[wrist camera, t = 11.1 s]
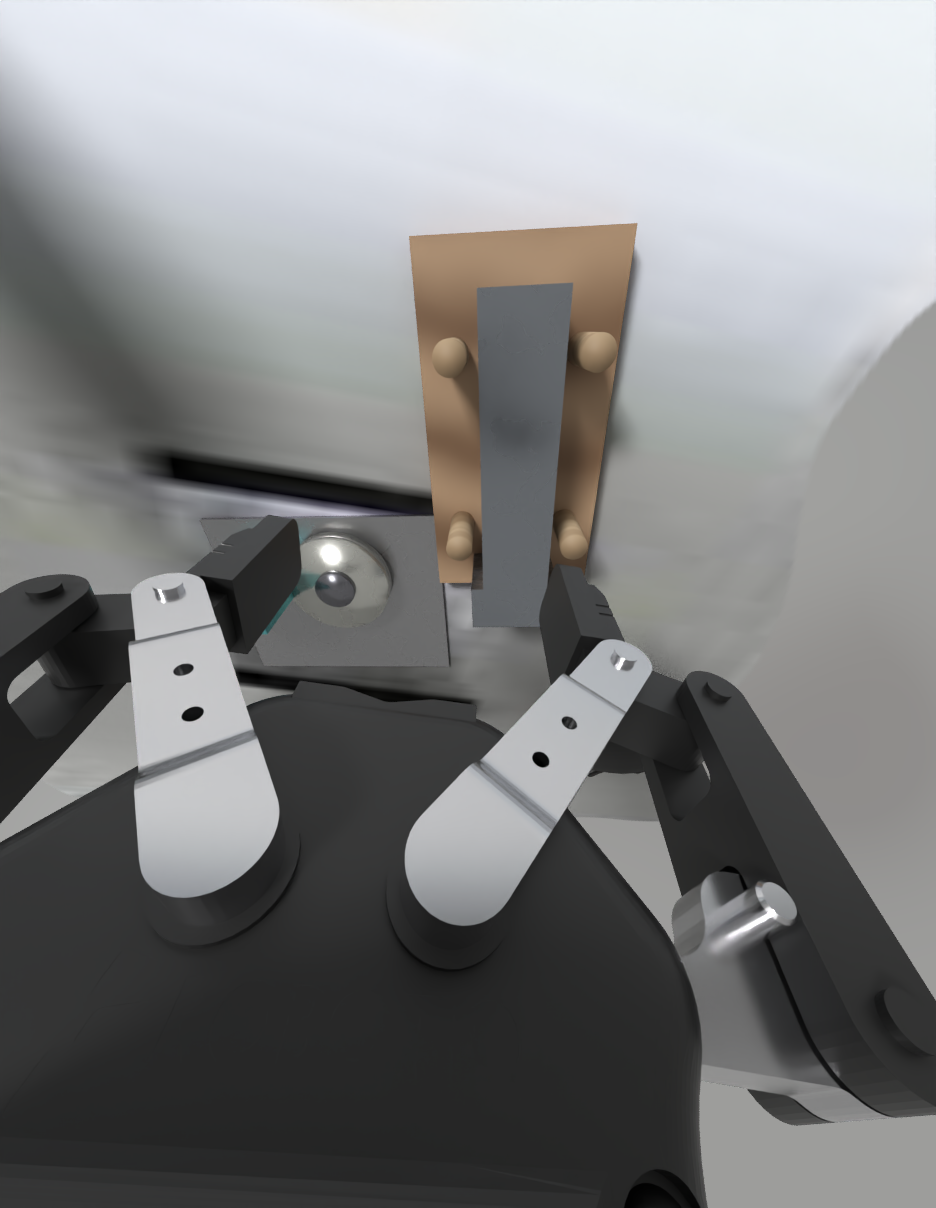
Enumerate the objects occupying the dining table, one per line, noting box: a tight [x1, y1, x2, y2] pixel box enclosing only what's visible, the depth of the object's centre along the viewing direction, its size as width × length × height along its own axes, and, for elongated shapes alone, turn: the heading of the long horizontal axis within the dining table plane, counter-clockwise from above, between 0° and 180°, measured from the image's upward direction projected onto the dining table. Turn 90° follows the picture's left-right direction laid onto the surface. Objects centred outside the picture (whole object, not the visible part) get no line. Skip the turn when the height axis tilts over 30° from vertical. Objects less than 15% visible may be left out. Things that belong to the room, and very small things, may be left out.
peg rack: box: [409, 223, 637, 583], centre depth 24 cm, size 20×11×6 cm, turn 2°
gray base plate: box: [200, 514, 449, 667], centre depth 34 cm, size 15×18×1 cm
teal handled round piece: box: [262, 532, 392, 634], centre depth 30 cm, size 8×14×6 cm, turn 92°
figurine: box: [588, 741, 645, 777], centre depth 37 cm, size 8×10×15 cm
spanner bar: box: [471, 283, 573, 627], centre depth 24 cm, size 18×6×5 cm, turn 2°
